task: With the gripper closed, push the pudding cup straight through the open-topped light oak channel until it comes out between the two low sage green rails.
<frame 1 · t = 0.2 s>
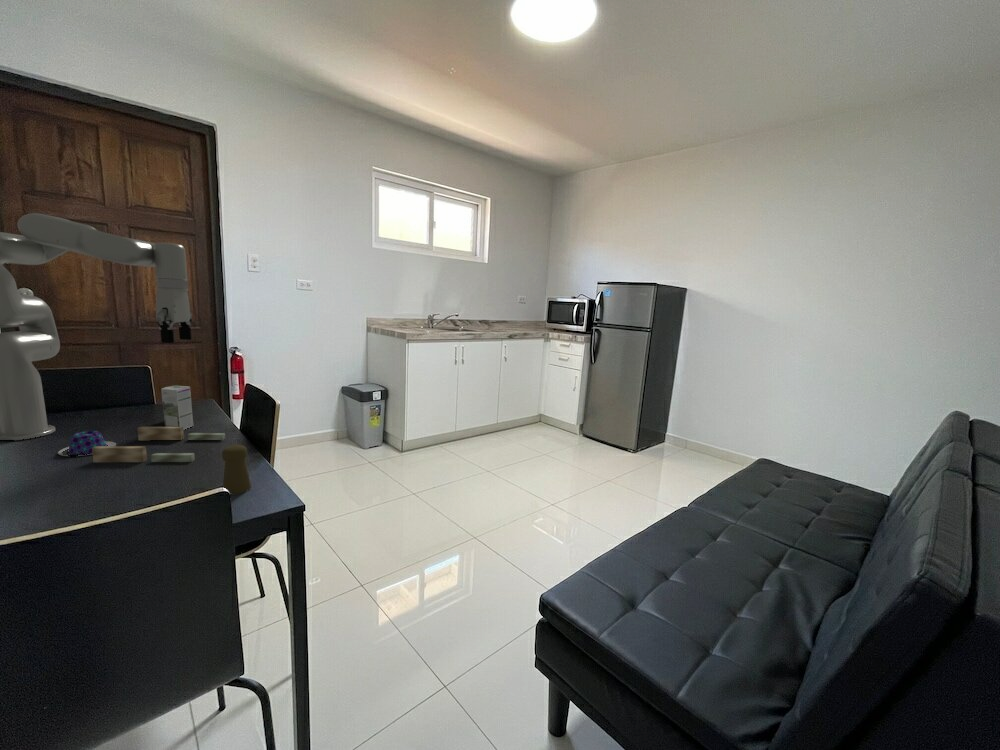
hand: (177, 341, 130), 31 cm above the table, tool pointing down, fingers open, 9 cm apart
syrup box: (179, 429, 141), on the table
channel: (165, 449, 123), on the table
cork: (236, 490, 102), on the table
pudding: (88, 451, 120), on the table
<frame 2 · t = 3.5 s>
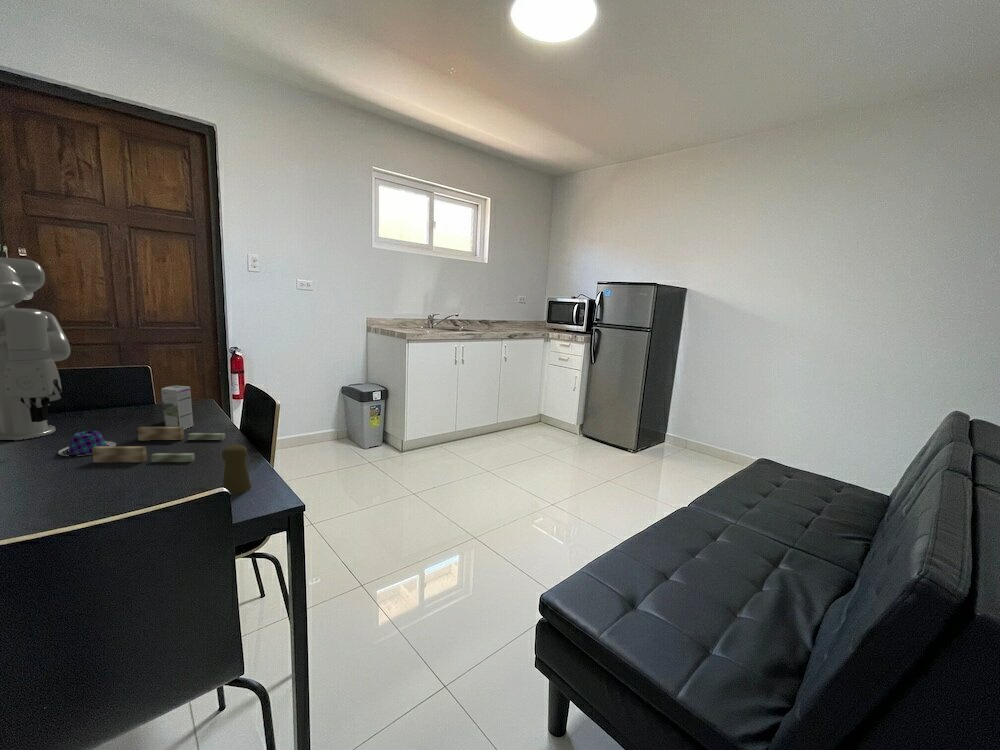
hand: (40, 420, 116), 9 cm above the table, tool pointing down, fingers closed
nothing on the table moved.
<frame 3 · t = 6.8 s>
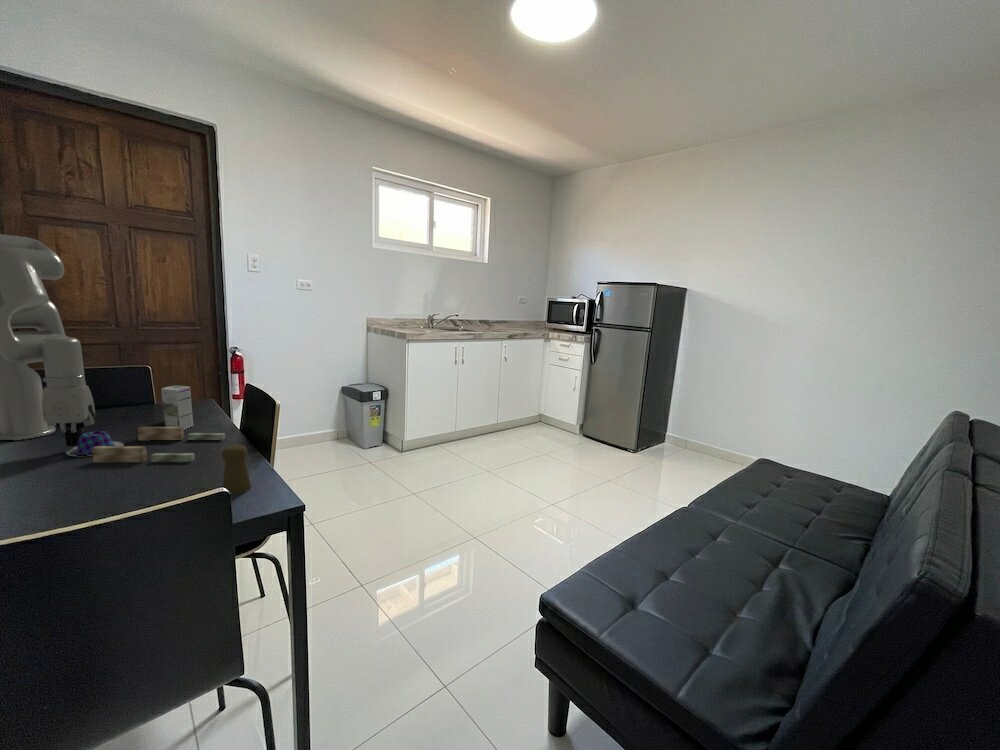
hand: (74, 444, 119), 2 cm above the table, tool pointing down, fingers closed
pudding: (96, 451, 120), on the table
everything else where it was.
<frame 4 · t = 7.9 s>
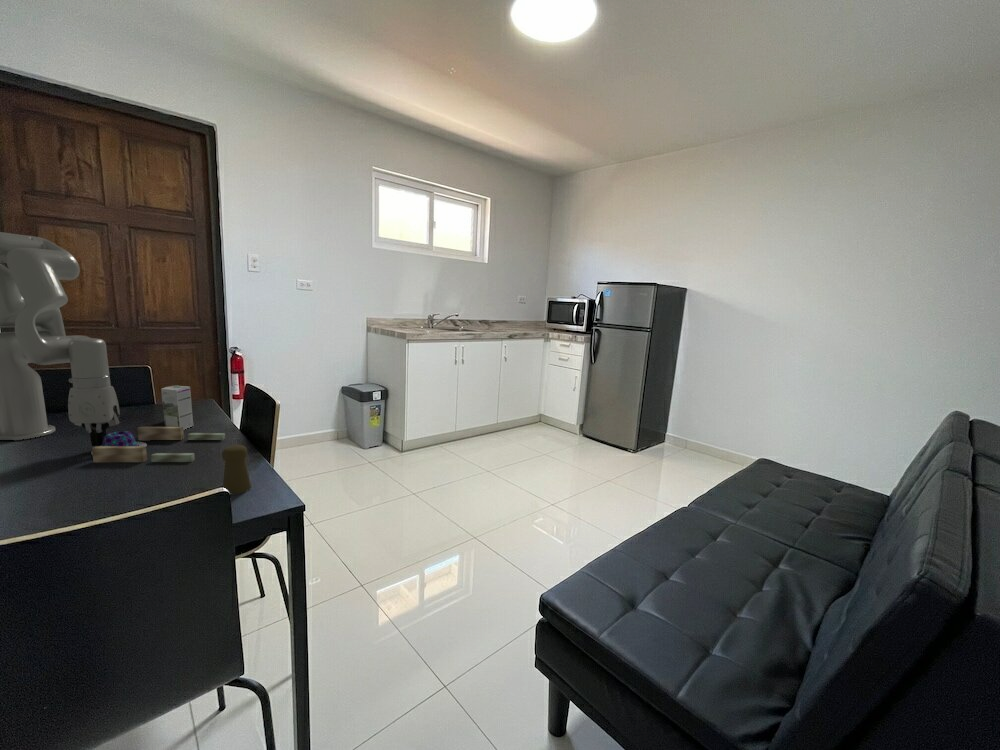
hand: (99, 444, 120), 2 cm above the table, tool pointing down, fingers closed
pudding: (120, 451, 121), on the table, touching gripper
everything else where it was.
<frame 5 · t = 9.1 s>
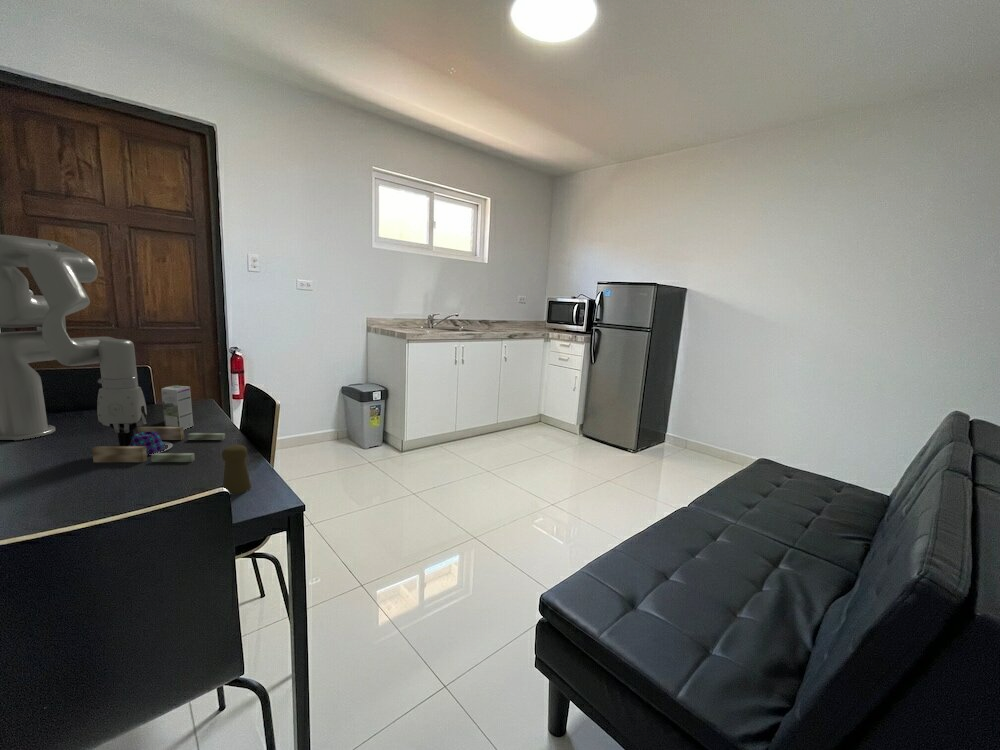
hand: (126, 444, 121), 2 cm above the table, tool pointing down, fingers closed
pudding: (147, 451, 122), on the table
everything else where it was.
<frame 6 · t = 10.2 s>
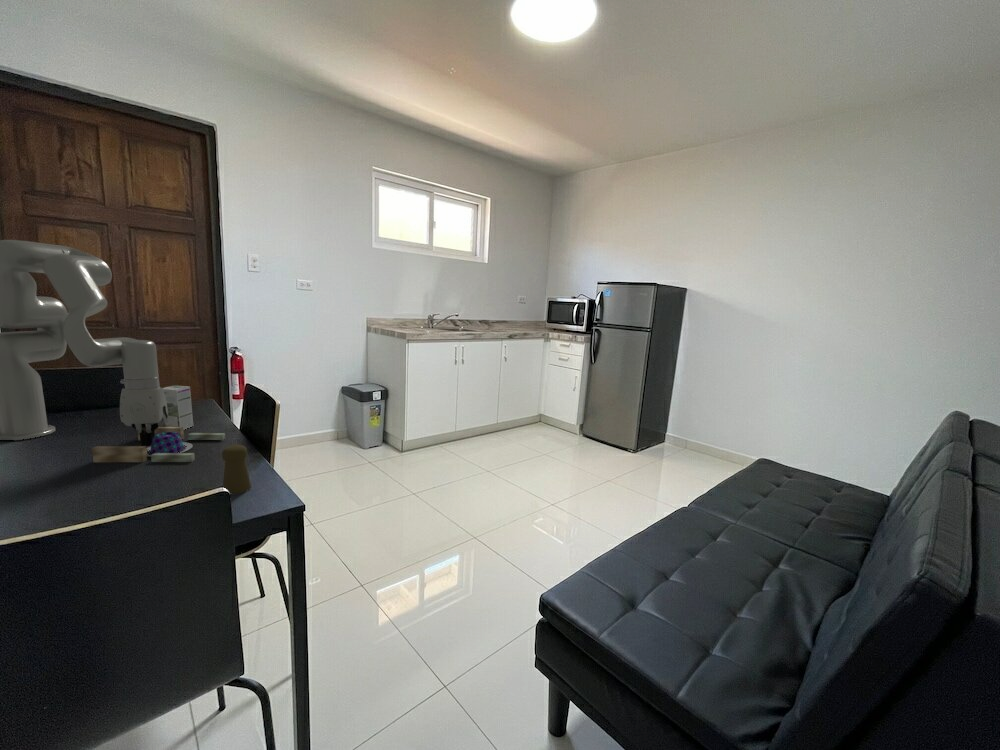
hand: (148, 444, 122), 2 cm above the table, tool pointing down, fingers closed
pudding: (167, 452, 123), on the table, touching gripper
everything else where it was.
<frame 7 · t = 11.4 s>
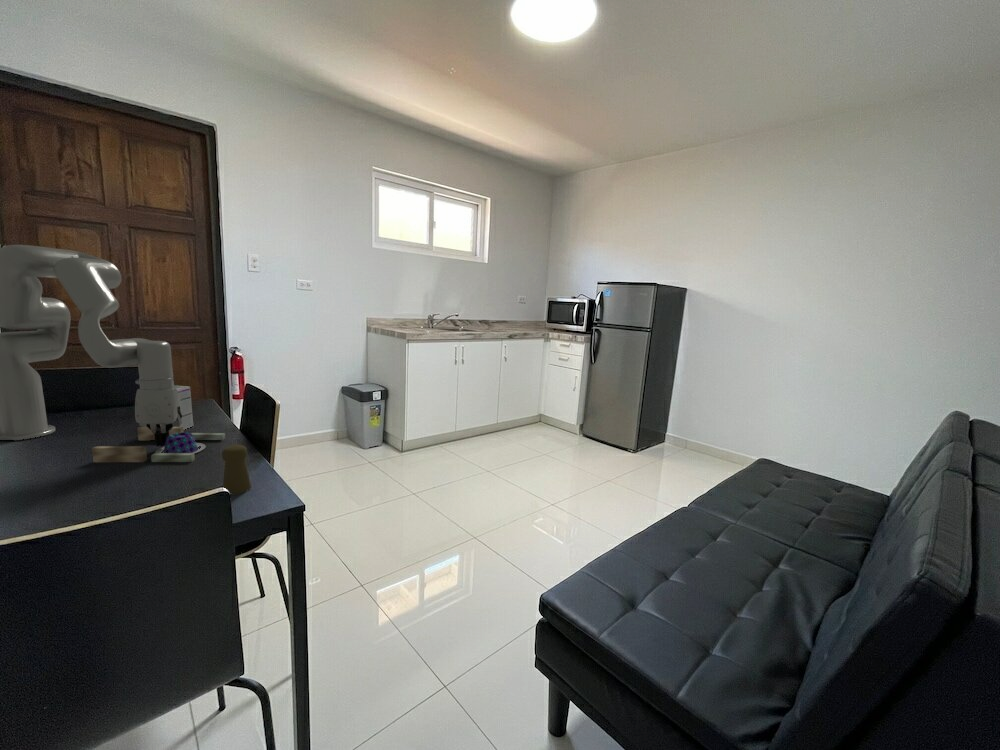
hand: (162, 444, 123), 2 cm above the table, tool pointing down, fingers closed
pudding: (181, 452, 123), on the table
everything else where it was.
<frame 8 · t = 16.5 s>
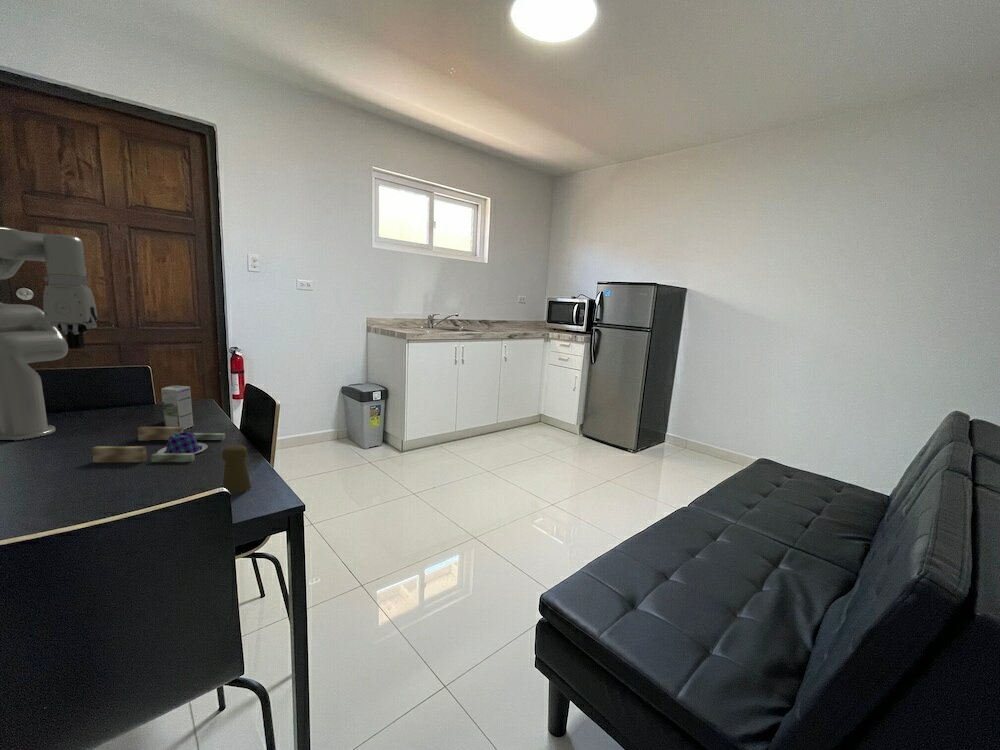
hand: (76, 348, 117), 29 cm above the table, tool pointing down, fingers closed
nothing on the table moved.
at the end: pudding inside the target area (2.5 cm from its centre), on the table; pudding tilted 0° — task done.
